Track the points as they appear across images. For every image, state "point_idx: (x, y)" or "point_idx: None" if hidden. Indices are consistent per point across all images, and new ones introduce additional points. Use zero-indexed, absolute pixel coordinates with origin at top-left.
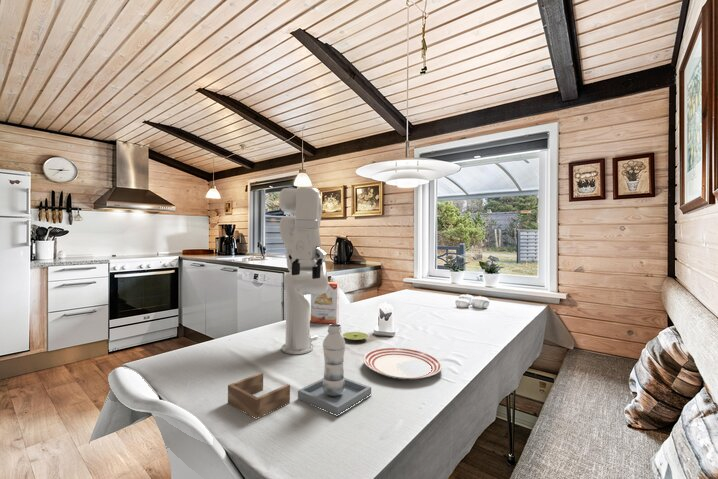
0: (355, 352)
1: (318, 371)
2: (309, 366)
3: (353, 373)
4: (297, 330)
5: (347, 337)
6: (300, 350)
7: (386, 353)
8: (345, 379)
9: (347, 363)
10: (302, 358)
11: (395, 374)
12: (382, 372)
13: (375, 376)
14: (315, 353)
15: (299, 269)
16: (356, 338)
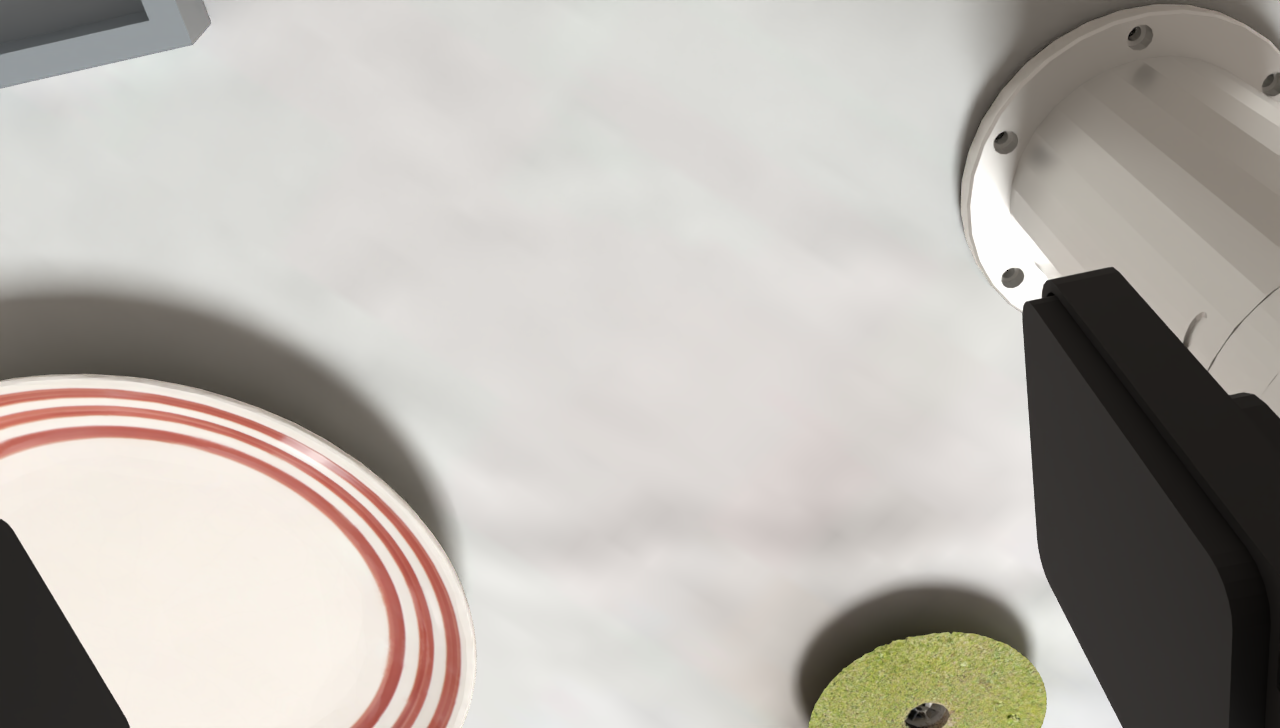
0: (668, 536)
1: (492, 37)
2: (654, 31)
3: (272, 268)
4: (1136, 208)
5: (939, 650)
6: (1015, 147)
7: (410, 675)
8: (2, 59)
9: (497, 350)
10: (879, 83)
11: (28, 494)
12: (83, 432)
13: (122, 372)
14: (898, 255)
15: (1106, 677)
16: (859, 689)
